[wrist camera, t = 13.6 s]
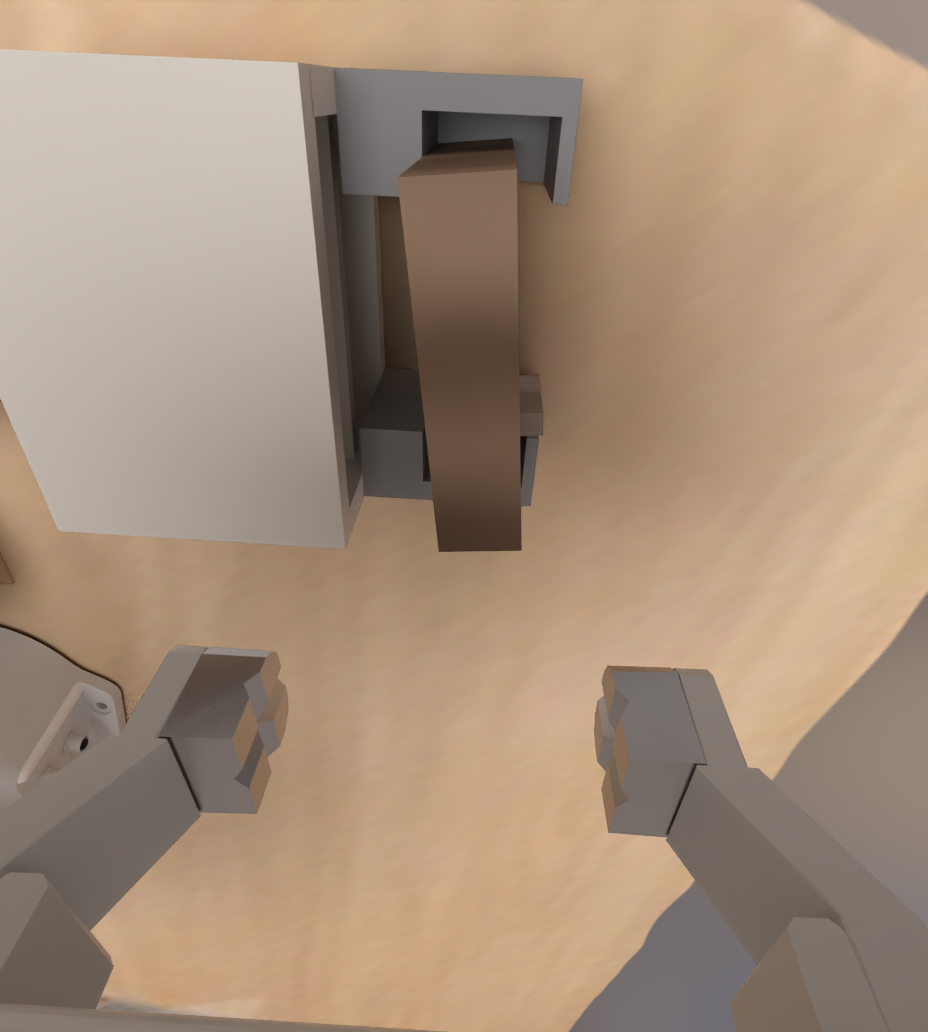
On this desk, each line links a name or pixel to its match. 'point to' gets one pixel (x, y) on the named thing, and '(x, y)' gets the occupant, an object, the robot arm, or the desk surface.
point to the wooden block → (469, 338)
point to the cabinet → (226, 283)
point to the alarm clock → (5, 573)
